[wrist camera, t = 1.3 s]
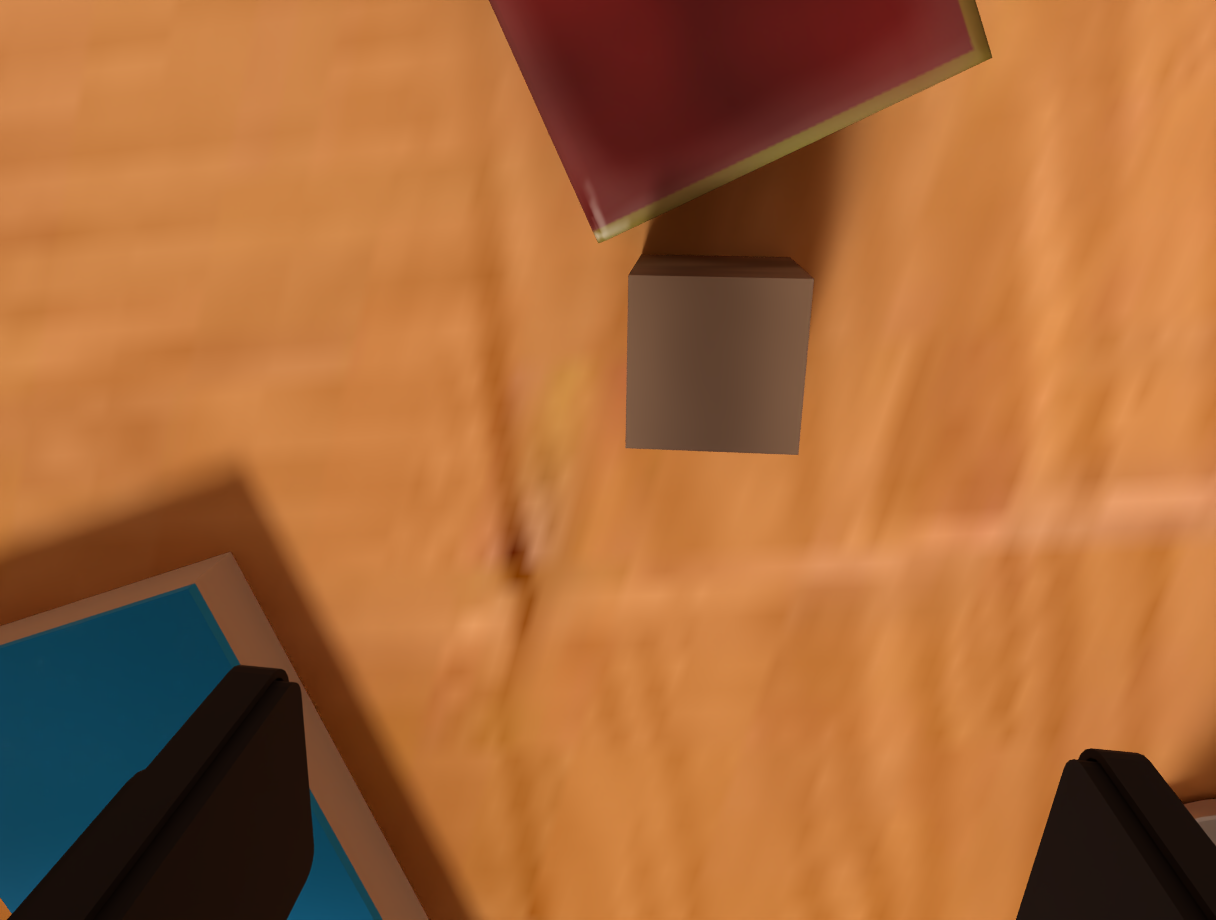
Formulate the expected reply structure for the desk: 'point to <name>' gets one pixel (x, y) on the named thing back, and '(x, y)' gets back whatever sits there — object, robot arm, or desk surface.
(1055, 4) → the desk surface
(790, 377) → the walnut block
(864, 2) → the hardcover book
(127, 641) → the book
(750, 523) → the desk surface
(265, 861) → the robot arm
